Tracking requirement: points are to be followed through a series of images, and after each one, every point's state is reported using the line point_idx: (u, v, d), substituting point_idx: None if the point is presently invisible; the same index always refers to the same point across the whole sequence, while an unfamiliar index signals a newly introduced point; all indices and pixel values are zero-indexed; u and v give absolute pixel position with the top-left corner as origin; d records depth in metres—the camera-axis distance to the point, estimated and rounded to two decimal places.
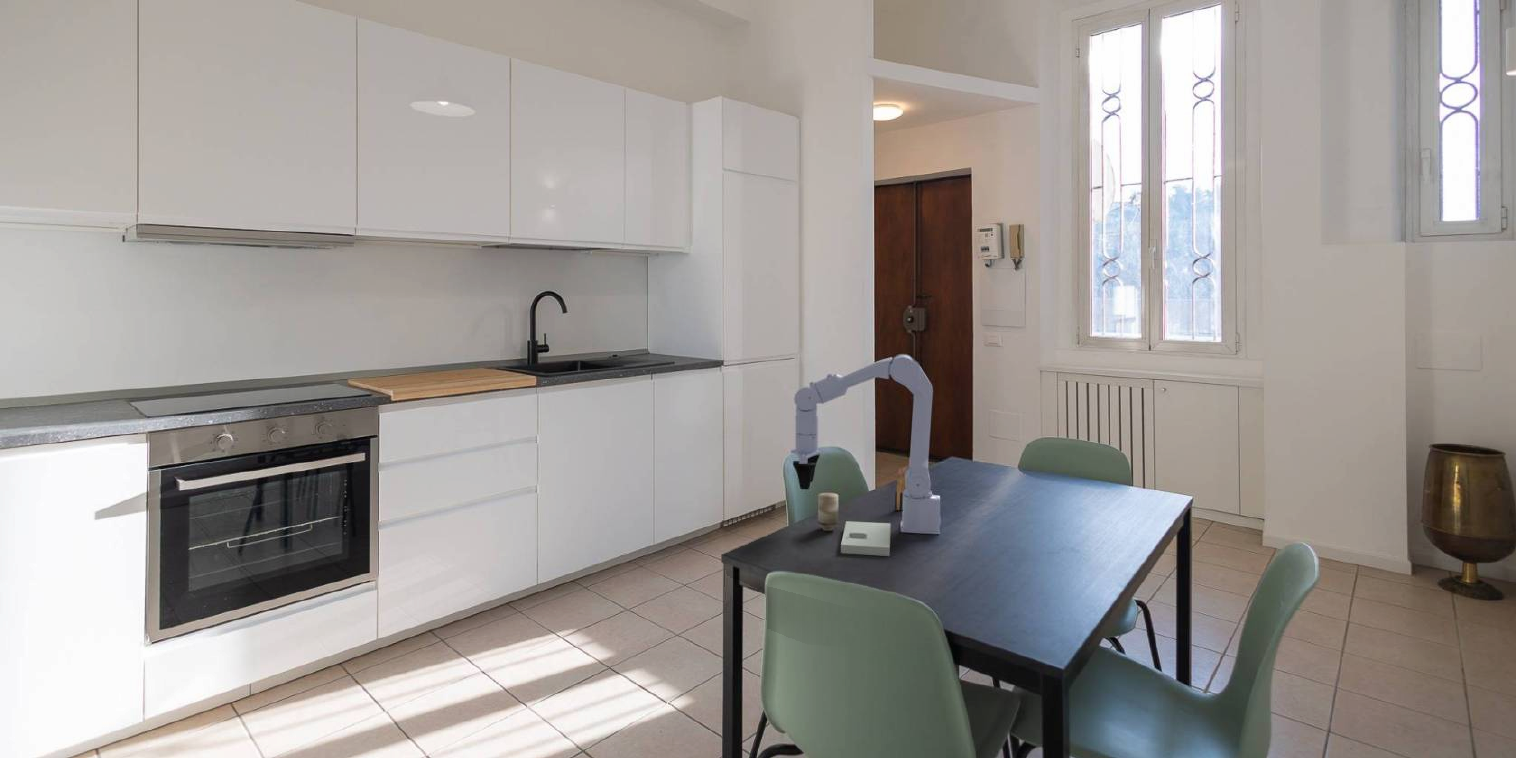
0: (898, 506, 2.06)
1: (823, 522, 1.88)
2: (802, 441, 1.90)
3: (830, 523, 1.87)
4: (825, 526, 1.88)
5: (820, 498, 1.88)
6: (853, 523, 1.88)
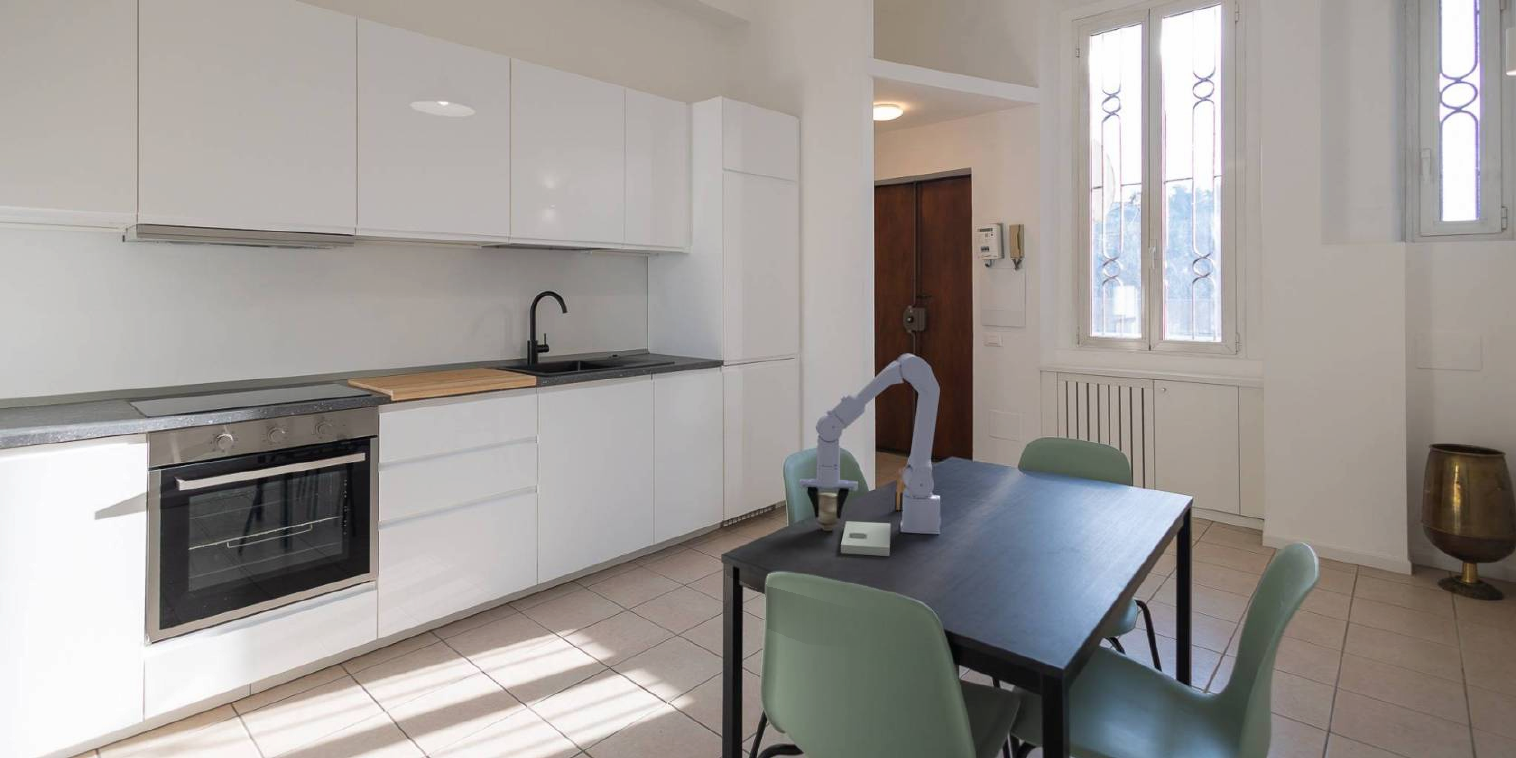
0: (898, 506, 2.06)
1: (823, 522, 1.88)
2: None
3: (830, 523, 1.87)
4: (825, 526, 1.88)
5: (820, 498, 1.88)
6: (853, 523, 1.88)
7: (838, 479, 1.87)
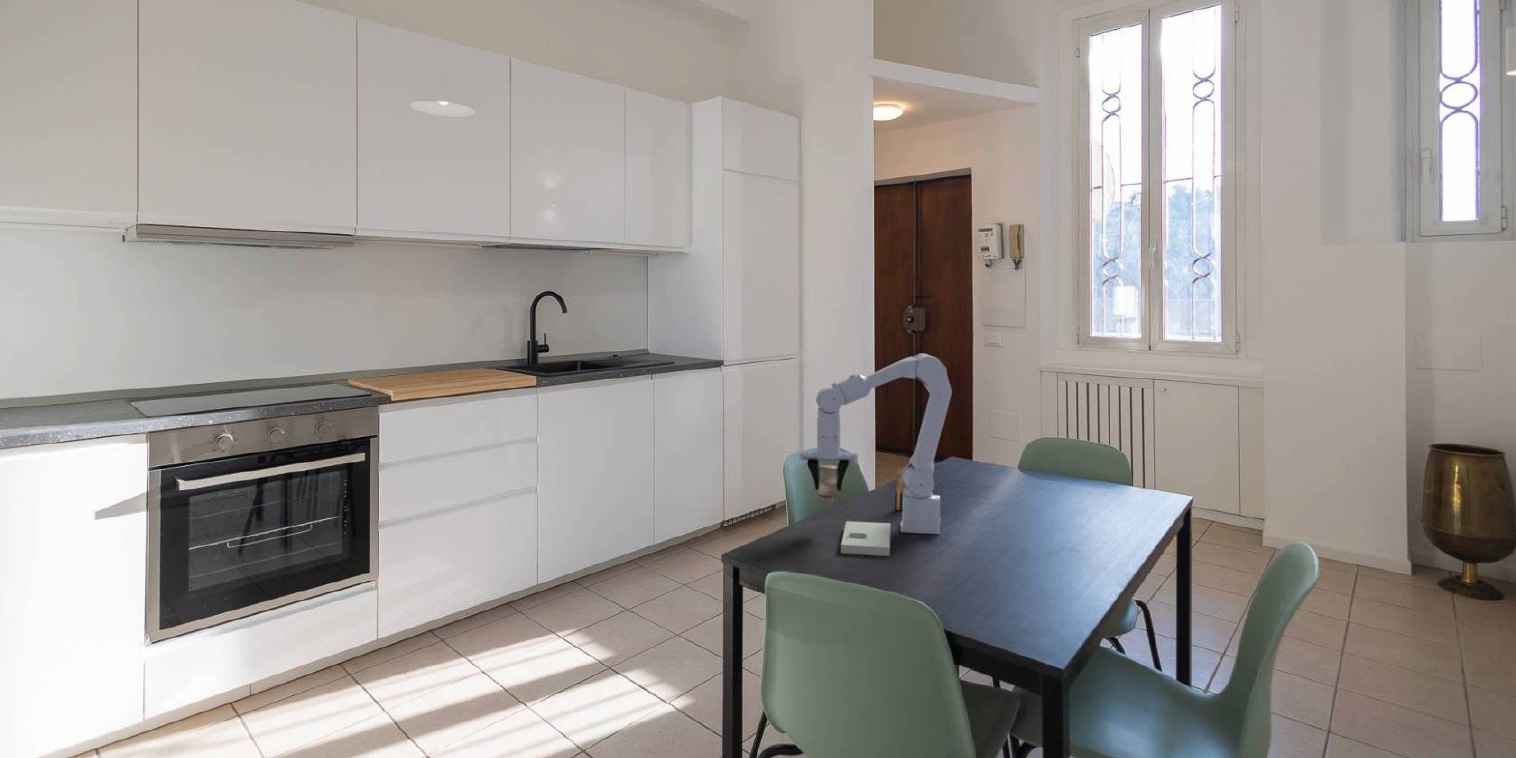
0: (898, 506, 2.06)
1: (823, 494, 1.87)
2: None
3: (830, 495, 1.86)
4: (825, 498, 1.88)
5: (820, 470, 1.87)
6: (853, 523, 1.88)
7: (838, 451, 1.86)
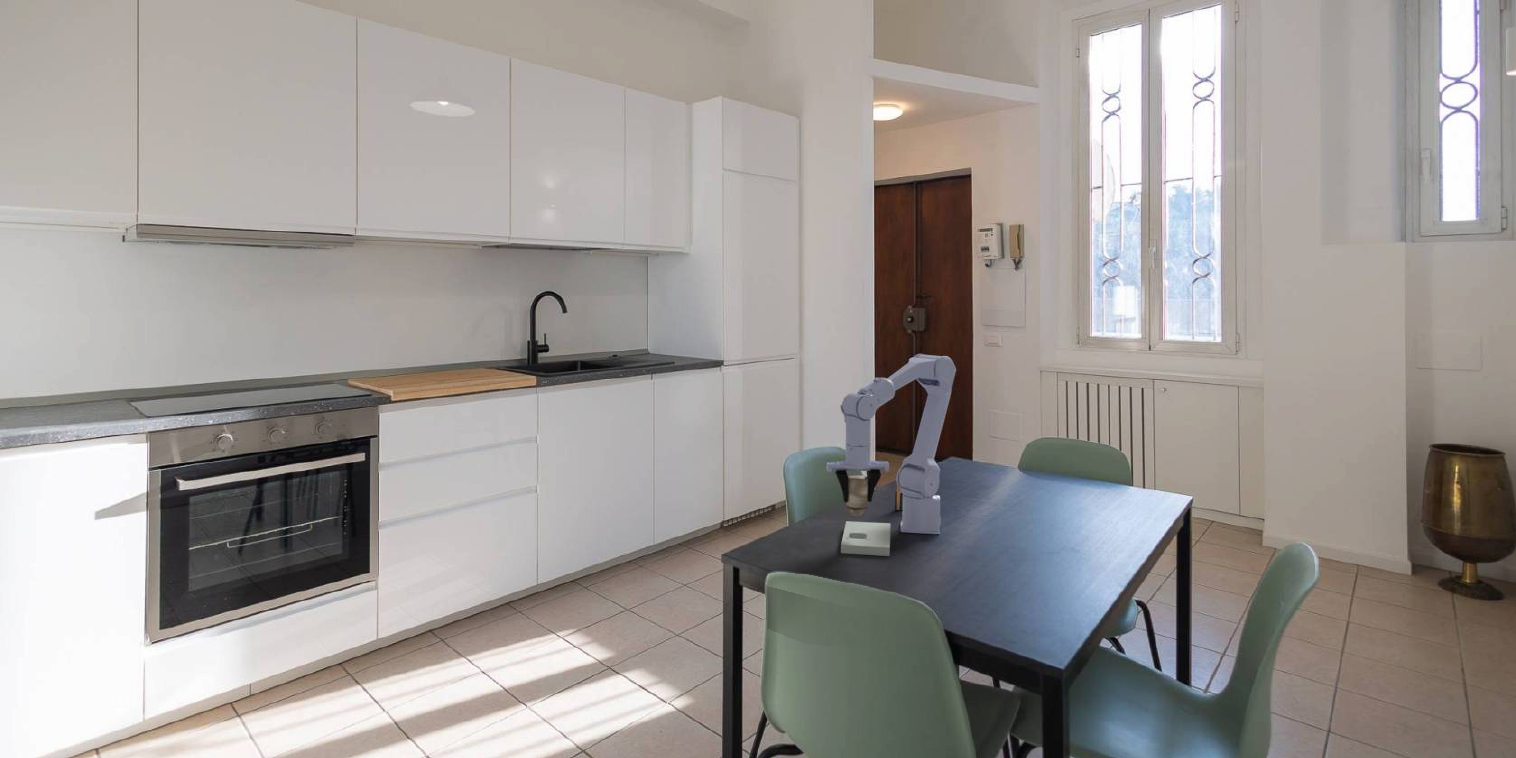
0: (898, 506, 2.06)
1: (855, 507, 1.76)
2: None
3: (862, 507, 1.76)
4: (856, 511, 1.77)
5: (851, 481, 1.76)
6: (853, 523, 1.88)
7: (869, 460, 1.76)
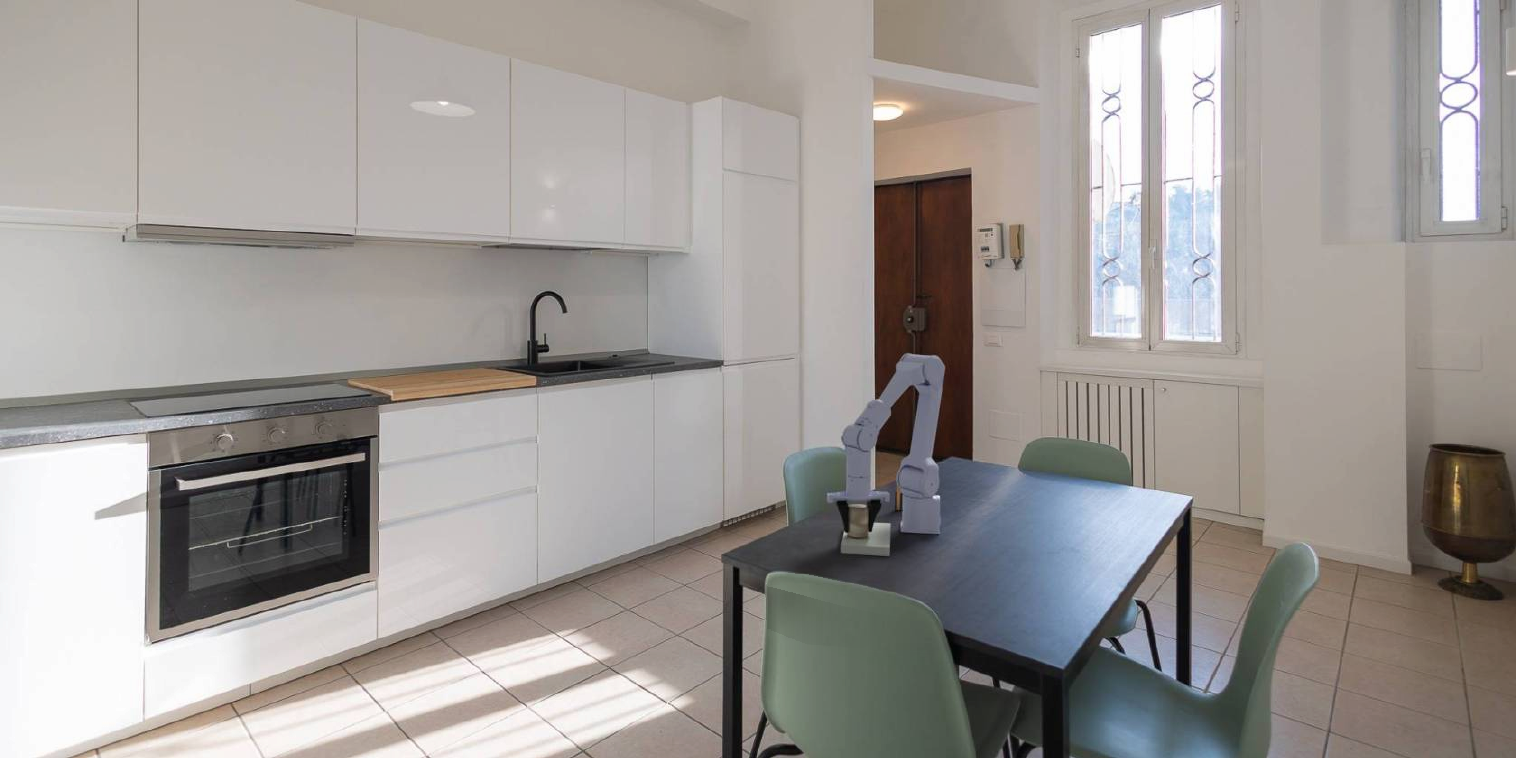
0: (898, 506, 2.06)
1: (856, 536, 1.76)
2: (846, 481, 1.77)
3: (863, 536, 1.76)
4: None
5: (852, 511, 1.76)
6: None
7: (870, 490, 1.76)
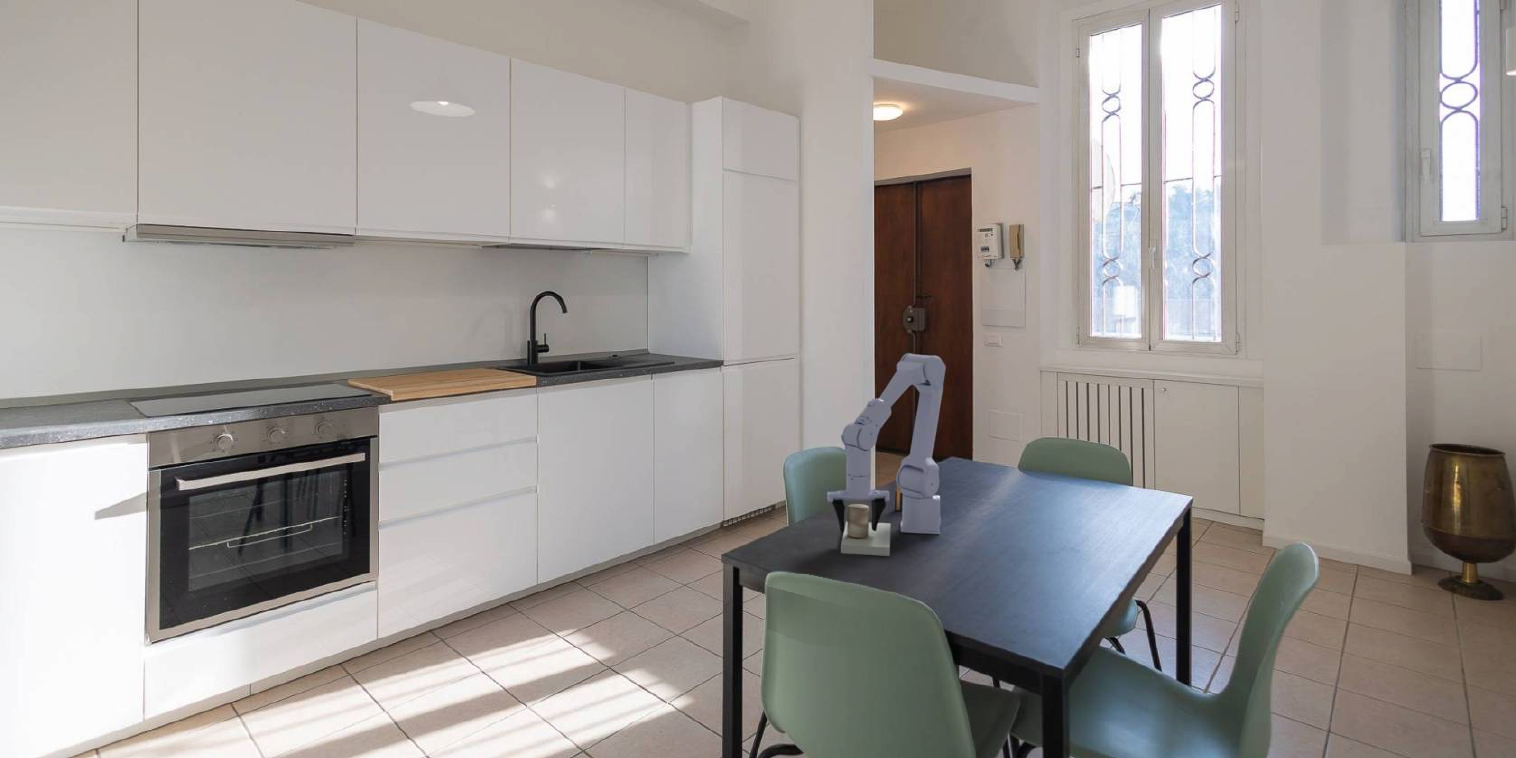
0: (898, 506, 2.06)
1: (856, 536, 1.76)
2: (846, 479, 1.77)
3: (863, 536, 1.76)
4: None
5: (852, 511, 1.76)
6: None
7: (870, 489, 1.76)
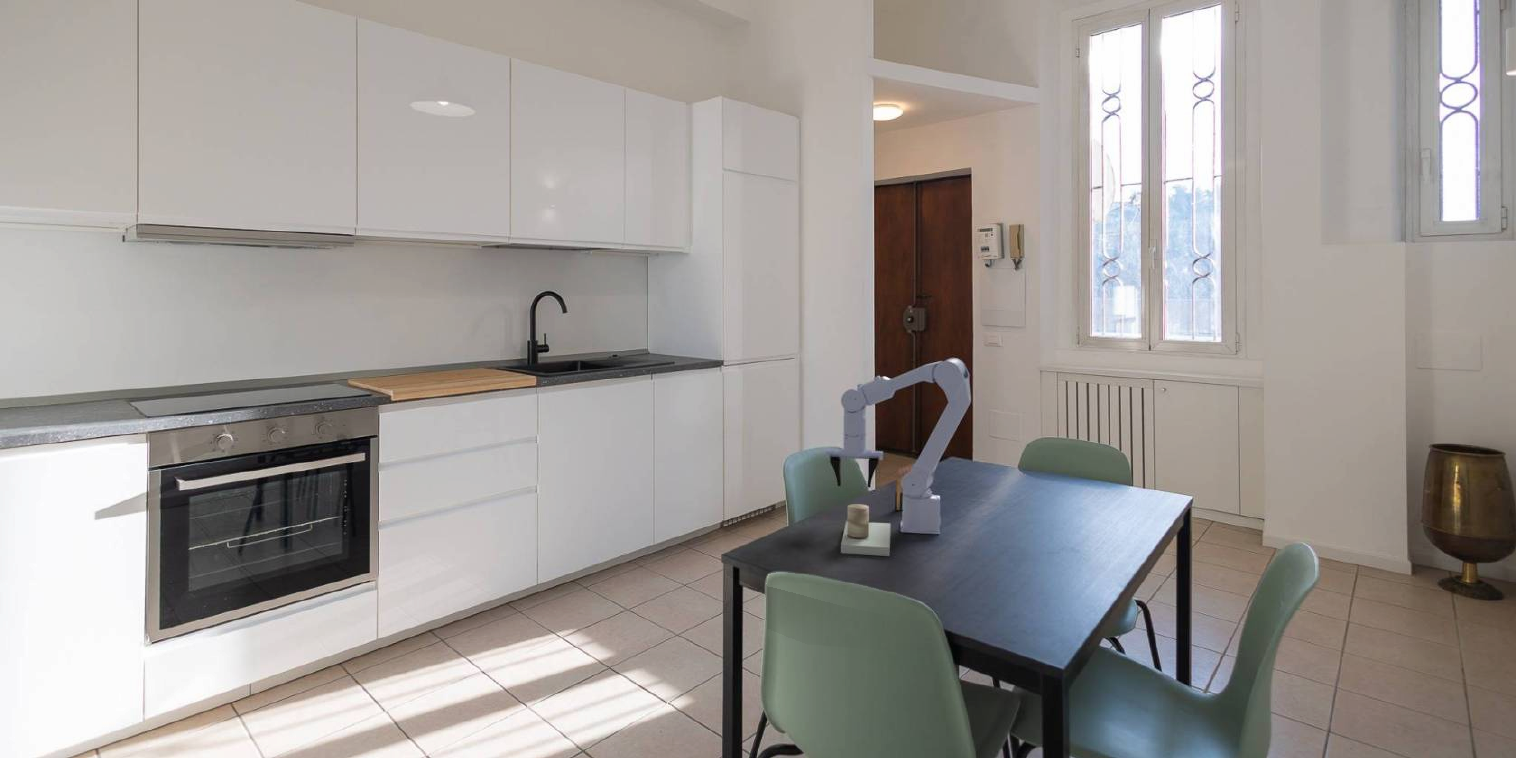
0: (898, 506, 2.06)
1: (856, 536, 1.76)
2: None
3: (863, 536, 1.76)
4: None
5: (852, 511, 1.76)
6: None
7: (864, 449, 1.93)
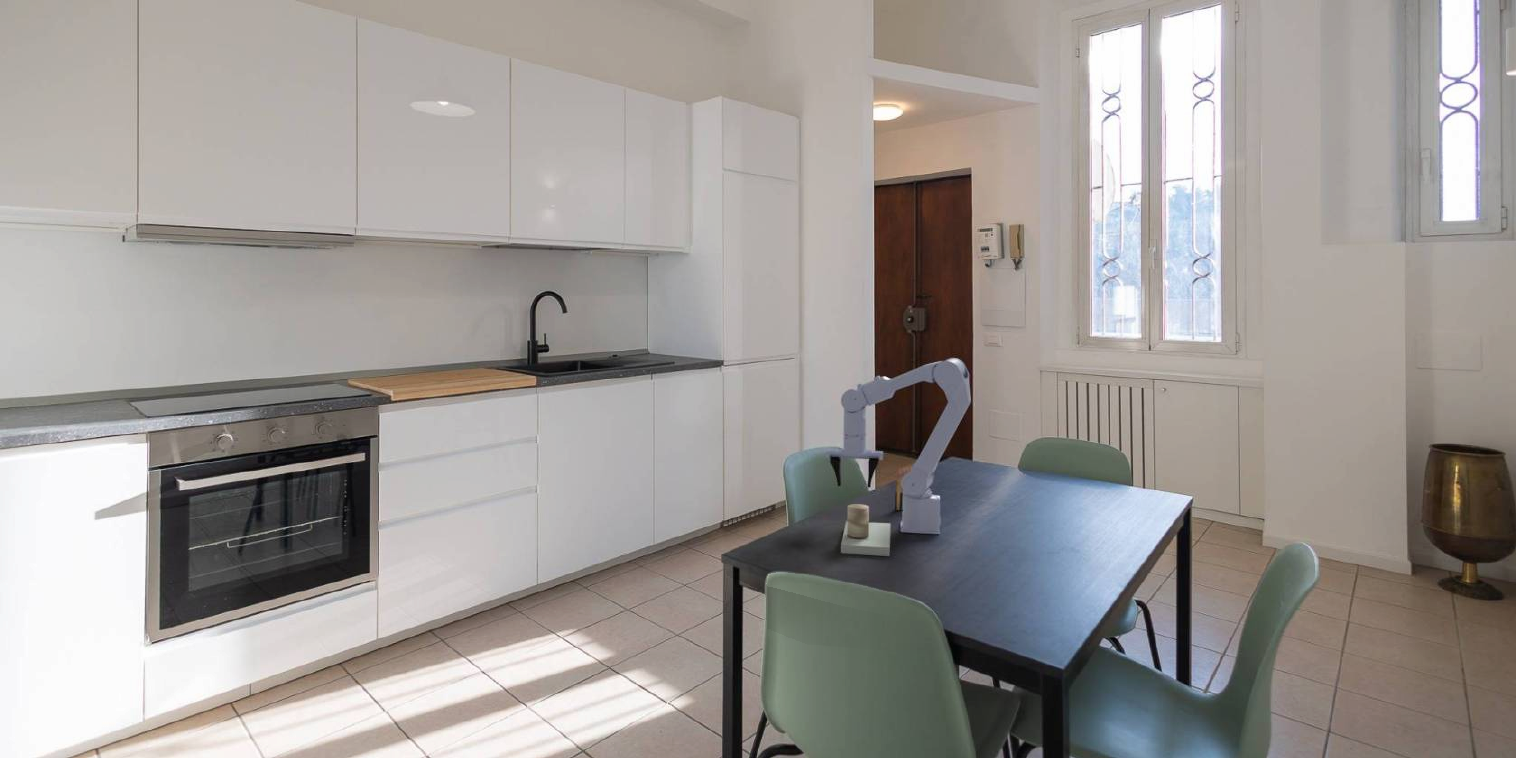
0: (898, 506, 2.06)
1: (856, 536, 1.76)
2: None
3: (863, 536, 1.76)
4: None
5: (852, 511, 1.76)
6: None
7: (864, 449, 1.93)
